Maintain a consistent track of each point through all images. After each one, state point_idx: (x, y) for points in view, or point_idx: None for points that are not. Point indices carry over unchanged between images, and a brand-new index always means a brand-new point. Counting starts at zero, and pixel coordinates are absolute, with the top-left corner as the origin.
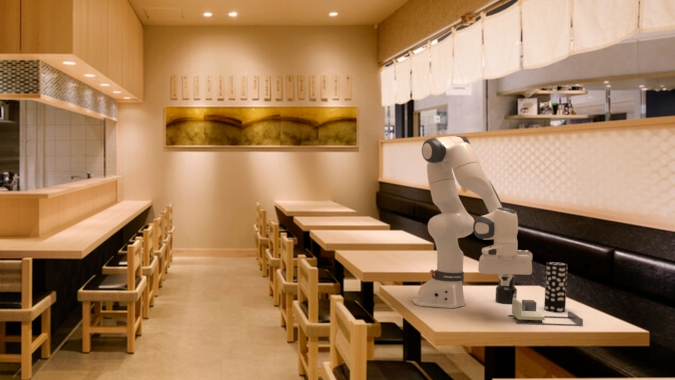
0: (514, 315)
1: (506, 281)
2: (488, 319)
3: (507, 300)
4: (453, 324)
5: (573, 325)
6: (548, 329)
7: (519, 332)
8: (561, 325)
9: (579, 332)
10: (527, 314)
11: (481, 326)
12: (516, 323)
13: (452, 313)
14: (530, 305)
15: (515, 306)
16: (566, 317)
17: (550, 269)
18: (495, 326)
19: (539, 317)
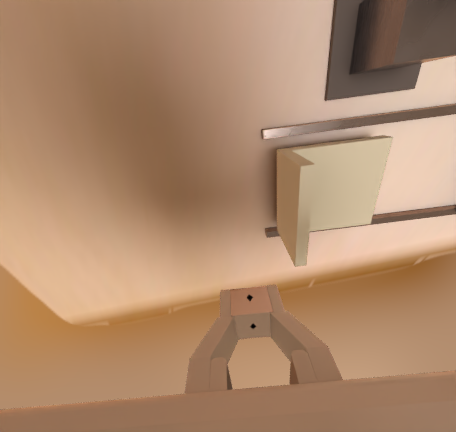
0: (277, 186)
1: (262, 335)
2: (183, 188)
3: None
4: (86, 268)
5: (439, 215)
6: (341, 253)
7: None
8: (401, 218)
9: (410, 260)
10: (322, 204)
11: (163, 268)
12: (266, 233)
13: (30, 124)
14: (409, 63)
15: (288, 209)
16: None
17: None
18: (201, 259)
19: (351, 225)
